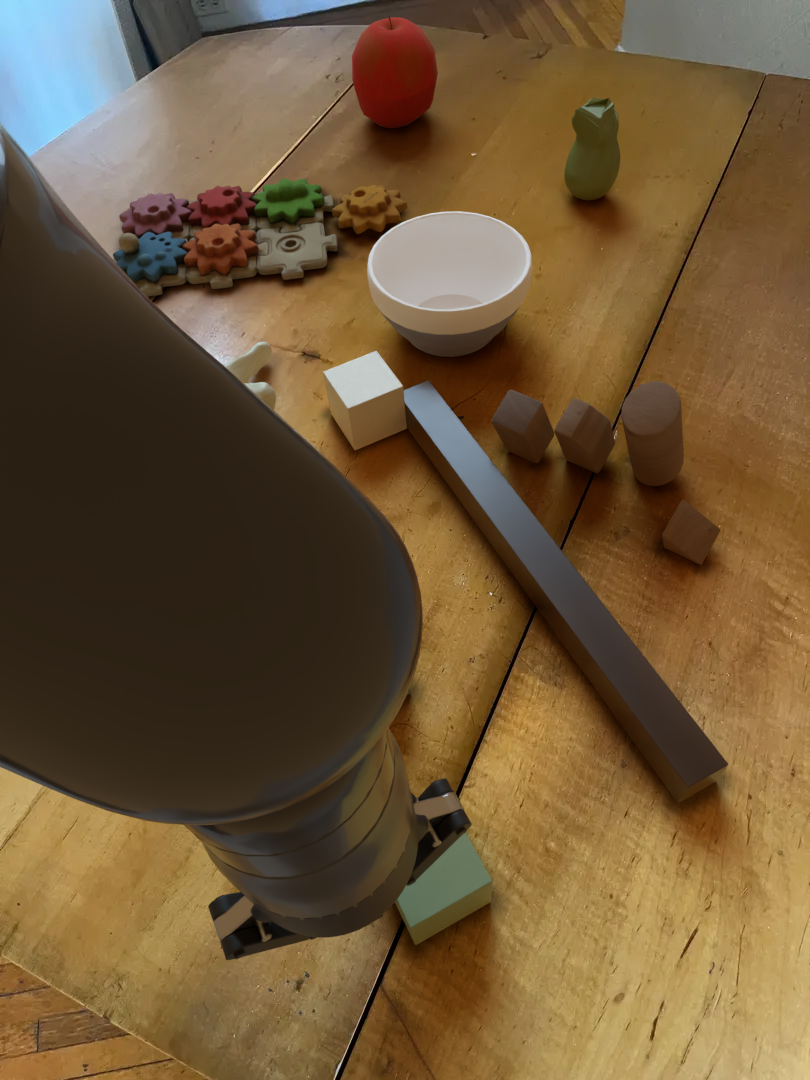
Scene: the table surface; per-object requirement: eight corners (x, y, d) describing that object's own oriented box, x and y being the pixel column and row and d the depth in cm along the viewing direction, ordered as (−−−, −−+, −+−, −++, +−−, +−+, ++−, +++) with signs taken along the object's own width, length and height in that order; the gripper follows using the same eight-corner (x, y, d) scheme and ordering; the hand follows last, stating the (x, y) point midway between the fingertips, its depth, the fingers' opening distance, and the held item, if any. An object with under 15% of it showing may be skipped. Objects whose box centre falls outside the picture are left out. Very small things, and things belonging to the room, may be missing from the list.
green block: (415, 945, 47) (410, 929, 43) (377, 865, 49) (368, 842, 45) (491, 902, 48) (493, 881, 44) (449, 825, 50) (447, 799, 46)
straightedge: (677, 804, 50) (688, 787, 48) (399, 417, 71) (397, 392, 68) (716, 781, 51) (729, 764, 49) (429, 405, 72) (428, 379, 69)
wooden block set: (499, 476, 69) (468, 427, 60) (550, 390, 70) (526, 328, 61) (701, 571, 62) (701, 532, 52) (755, 473, 62) (764, 418, 53)
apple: (410, 149, 96) (403, 43, 87) (340, 129, 99) (326, 26, 90) (453, 108, 101) (451, 5, 91) (385, 92, 104) (376, -10, 95)
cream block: (354, 451, 69) (347, 408, 65) (330, 414, 72) (322, 371, 68) (407, 428, 70) (403, 386, 66) (381, 393, 73) (376, 350, 69)
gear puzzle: (401, 179, 92) (398, 144, 89) (417, 266, 83) (415, 230, 80) (127, 212, 92) (114, 178, 89) (112, 303, 83) (97, 269, 79)
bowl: (361, 294, 81) (353, 226, 75) (503, 267, 82) (506, 198, 76) (390, 394, 73) (383, 327, 66) (548, 363, 74) (555, 294, 67)
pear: (624, 196, 88) (640, 102, 79) (588, 216, 86) (600, 122, 78) (587, 175, 90) (598, 82, 82) (551, 194, 89) (560, 100, 81)
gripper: (174, 1003, 27) (278, 1041, 41) (516, 812, 30) (503, 909, 44) (115, 804, 31) (228, 900, 45) (421, 652, 34) (437, 788, 48)
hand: (364, 904), depth 45 cm, fingers closed
